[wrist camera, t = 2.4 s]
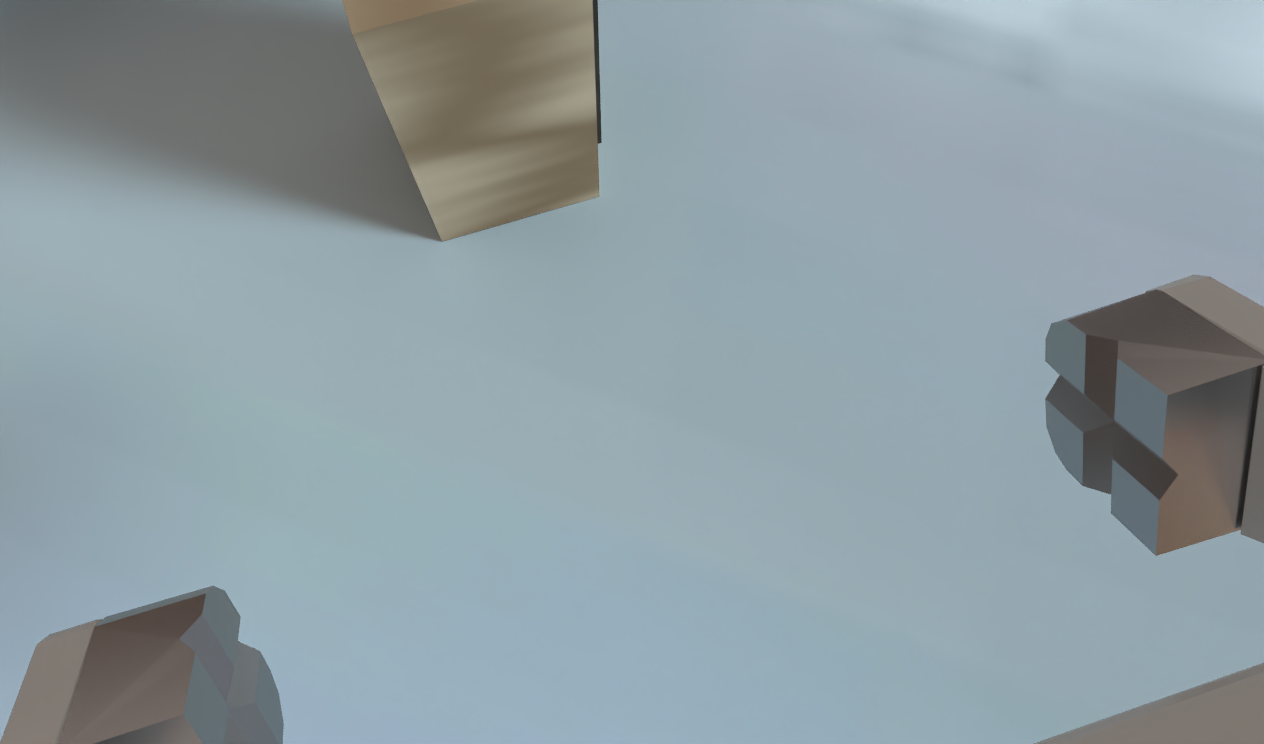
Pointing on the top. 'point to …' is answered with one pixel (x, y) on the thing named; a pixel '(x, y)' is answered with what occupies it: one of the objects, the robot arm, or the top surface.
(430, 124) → the block
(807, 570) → the top surface
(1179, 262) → the top surface
